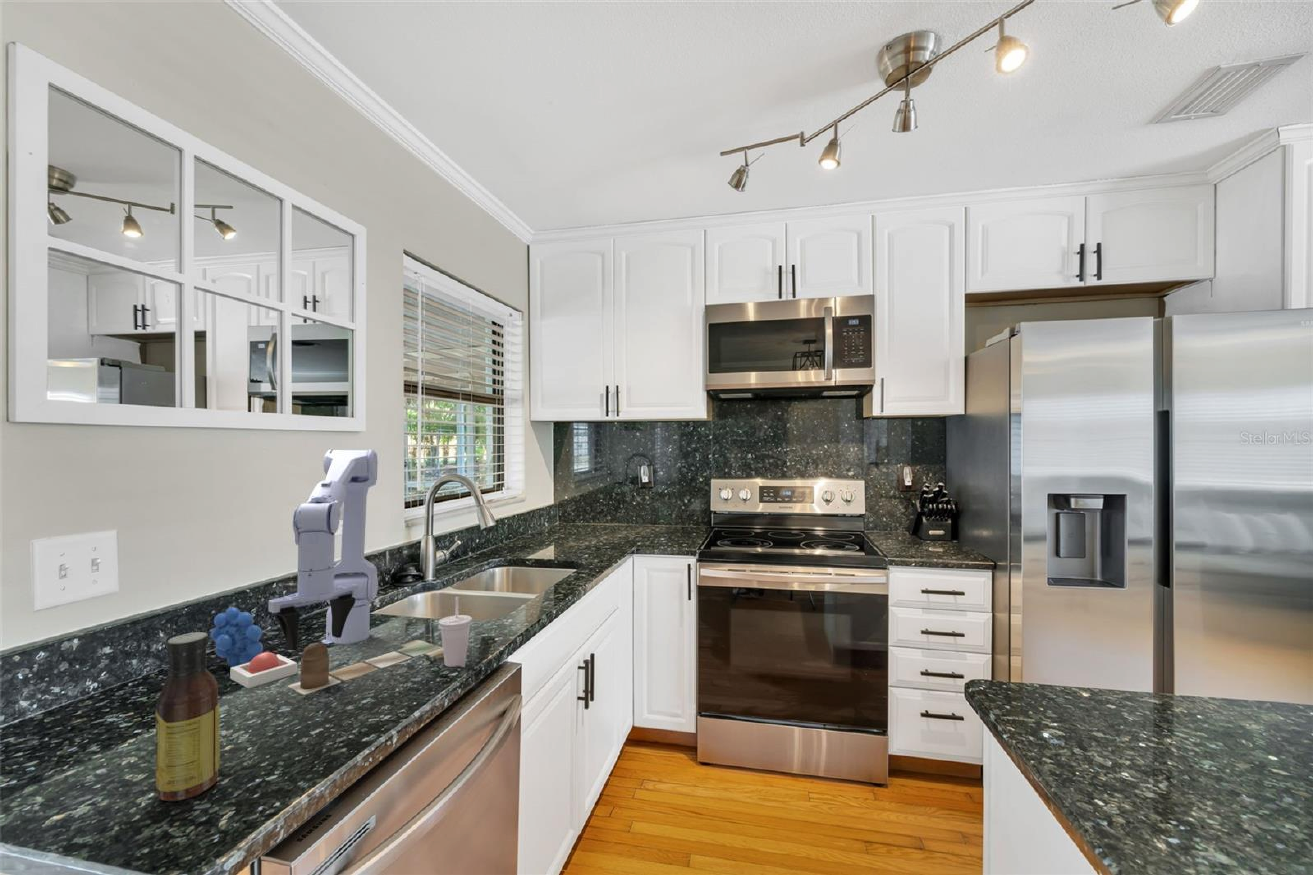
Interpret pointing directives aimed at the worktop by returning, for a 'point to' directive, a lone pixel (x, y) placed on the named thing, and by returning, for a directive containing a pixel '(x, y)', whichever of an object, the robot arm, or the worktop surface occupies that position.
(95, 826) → the worktop surface
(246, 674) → the dome base
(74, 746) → the worktop surface
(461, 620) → the smoothie
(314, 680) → the walnut pawn
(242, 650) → the grapes
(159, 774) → the sauce bottle
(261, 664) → the dome button
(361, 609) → the robot arm
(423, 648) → the game board
